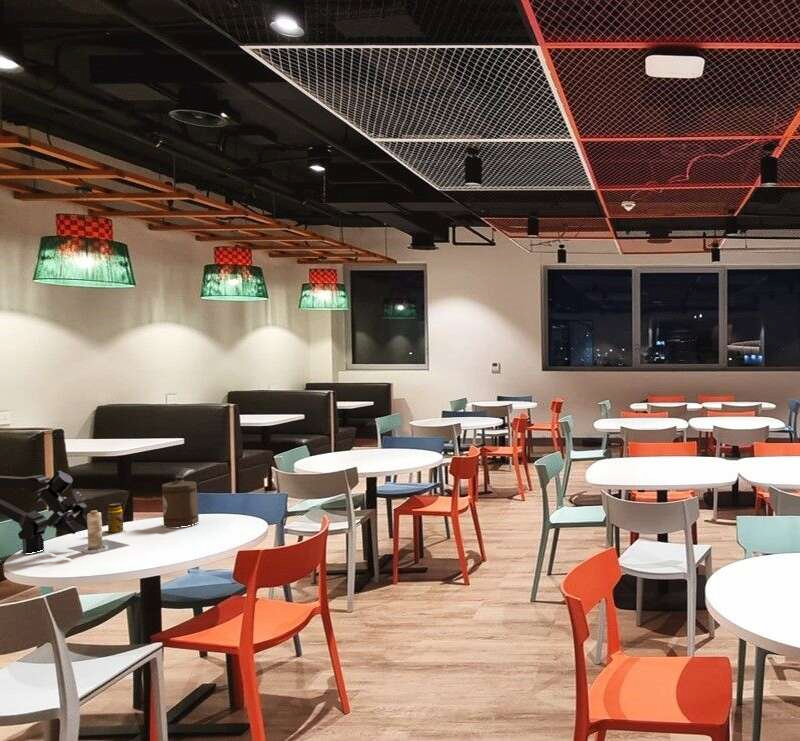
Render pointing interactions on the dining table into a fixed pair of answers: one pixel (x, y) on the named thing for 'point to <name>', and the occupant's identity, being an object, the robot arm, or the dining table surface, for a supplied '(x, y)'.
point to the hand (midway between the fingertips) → (82, 530)
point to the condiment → (114, 519)
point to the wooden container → (180, 503)
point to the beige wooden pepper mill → (94, 530)
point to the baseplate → (106, 547)
